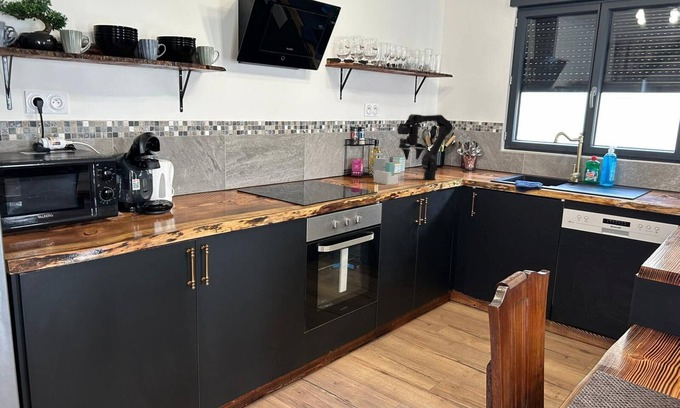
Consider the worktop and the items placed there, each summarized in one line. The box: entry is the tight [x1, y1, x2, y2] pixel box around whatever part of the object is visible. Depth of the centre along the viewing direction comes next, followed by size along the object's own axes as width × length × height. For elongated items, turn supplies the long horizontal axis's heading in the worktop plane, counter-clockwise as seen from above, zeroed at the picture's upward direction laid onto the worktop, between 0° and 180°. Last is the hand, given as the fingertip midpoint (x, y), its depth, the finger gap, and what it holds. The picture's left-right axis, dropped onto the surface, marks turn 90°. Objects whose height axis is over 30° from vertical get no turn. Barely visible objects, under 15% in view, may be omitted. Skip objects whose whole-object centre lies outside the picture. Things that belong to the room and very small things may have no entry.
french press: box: [370, 137, 384, 176], centre depth 340 cm, size 10×12×25 cm
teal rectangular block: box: [385, 162, 396, 176], centre depth 305 cm, size 6×4×12 cm
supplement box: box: [372, 157, 390, 179], centre depth 328 cm, size 7×7×13 cm
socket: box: [373, 170, 400, 186], centre depth 305 cm, size 10×12×7 cm
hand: (411, 159), depth 320 cm, fingers open, 9 cm apart
